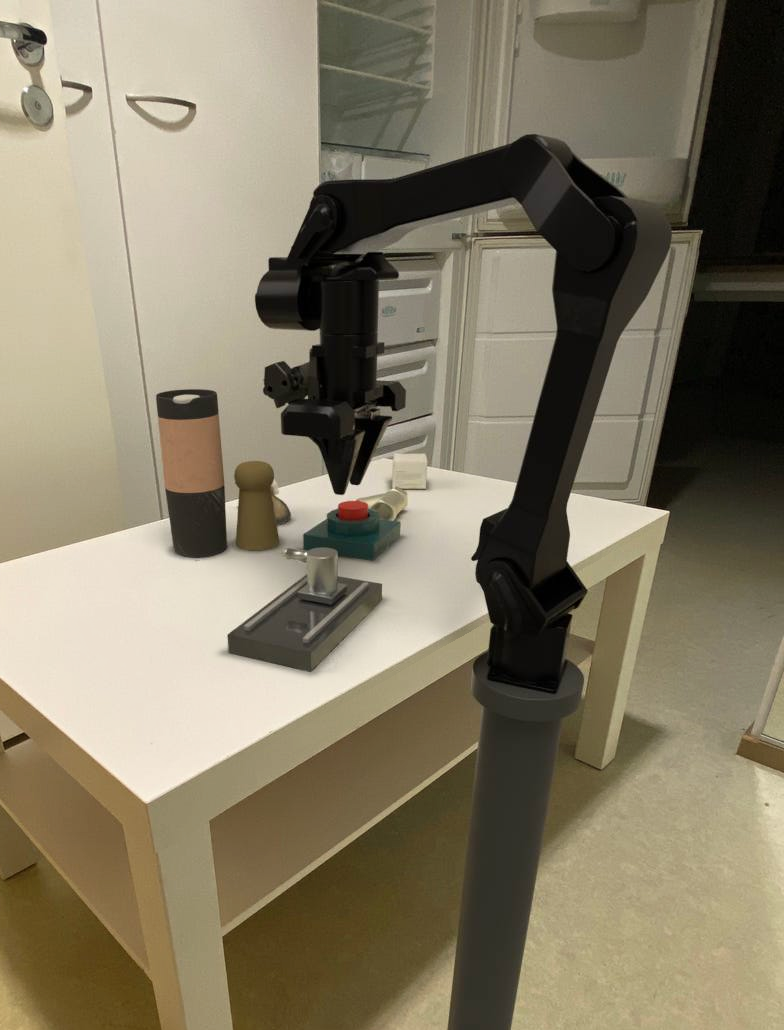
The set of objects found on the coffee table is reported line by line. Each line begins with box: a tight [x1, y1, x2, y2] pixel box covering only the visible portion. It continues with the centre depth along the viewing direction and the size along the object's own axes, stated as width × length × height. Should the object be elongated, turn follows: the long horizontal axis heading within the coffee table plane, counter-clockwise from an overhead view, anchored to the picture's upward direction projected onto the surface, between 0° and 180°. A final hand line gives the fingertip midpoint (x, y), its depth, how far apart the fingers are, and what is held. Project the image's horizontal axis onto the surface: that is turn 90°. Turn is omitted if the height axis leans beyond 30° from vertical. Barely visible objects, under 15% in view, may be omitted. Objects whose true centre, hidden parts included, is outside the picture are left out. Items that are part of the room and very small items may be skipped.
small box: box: [391, 453, 428, 490], centre depth 123 cm, size 6×6×5 cm
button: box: [337, 500, 368, 520], centre depth 96 cm, size 4×4×2 cm
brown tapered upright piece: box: [233, 460, 281, 551], centre depth 97 cm, size 6×6×11 cm
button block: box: [302, 508, 402, 561], centre depth 98 cm, size 10×10×4 cm
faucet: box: [282, 547, 347, 605], centre depth 77 cm, size 7×4×5 cm, turn 63°
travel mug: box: [155, 388, 228, 558], centre depth 93 cm, size 8×8×20 cm
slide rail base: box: [226, 573, 383, 672], centre depth 76 cm, size 9×18×2 cm, turn 153°
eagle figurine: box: [234, 479, 292, 526], centre depth 109 cm, size 8×7×9 cm
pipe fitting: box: [355, 486, 409, 521], centre depth 108 cm, size 8×4×7 cm
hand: (347, 489), depth 78 cm, fingers open, 4 cm apart
